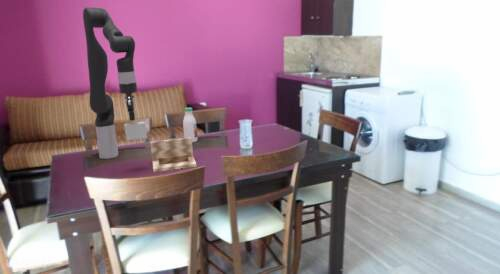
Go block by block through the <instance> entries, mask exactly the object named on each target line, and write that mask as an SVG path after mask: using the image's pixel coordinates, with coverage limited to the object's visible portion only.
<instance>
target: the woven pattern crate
mask: <svg viewBox="0 0 500 274" xmlns="http://www.w3.org/2000/svg"><path fill="white" fill-rule="evenodd" d="M149 143H150V151H151V153H150V154H151V159H152V169H153V170H152V171H153V173H159V172H165V171H167V172H168V171H173V170H174V169H175V170H182V169H181V168H183V169H191V168H196V167H197V162H196V160H195V157H194V153H193V152H194V150H193V149H194V148H193V143H192V138H191V137H190V138H184V137H183V138H174V139H173V138H172V139H164V140H157V141H156V140H154V141H150V142H149Z"/></svg>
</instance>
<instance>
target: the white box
mask: <svg viewBox="0 0 500 274" xmlns="http://www.w3.org/2000/svg"><path fill="white" fill-rule="evenodd" d="M134 117H135V120H132V121H130V122H125V123H124V125H123V127H124V132H125V137H126V139H125V140H126V141H134V140H141V139H142V140H143V139H147V138H148V135H147V127H146V122H145V120H142V121H139V120H138V113H137V109H134Z"/></svg>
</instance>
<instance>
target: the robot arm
mask: <svg viewBox="0 0 500 274" xmlns="http://www.w3.org/2000/svg"><path fill="white" fill-rule="evenodd" d="M82 20H83V27H84V28H83V29H84V33H85V34H84V35H85V40H86V56H87V57H86V58H87V69H88V78H89V79H88V80H89V107H90V109H91V111H92V112H93V113H95V114H96V117H95V121H94V125H95V131H96V138H97V141H96V143H97V148H98V149H97V150H98V155H99V156H98V157H99V159H103V160H107V159H108V160H109V159H114V158H117V157H118V156H119V150H118V149H119V148H118V141H117V135H116V133H117V132H116V128H115V109H114V101H113V99H112V97H111V96H110V95H109V94H107V93H106V81H107V75H108V72H109V71H108V69H109V68H108V67H109V65H108V64H109V63H108V55H107V53H106V50H105V49H104V48H103V47H102V45H101V44H100V42H99V41H98V39H97V37H96V34H95V30H94V28H96V29H102V34H103V37H104V38H105V39H106V40H107V41H108V43H109V48H110V50H111V51H112V52H113V53H116V54H121V53H125V55H124V56H123V57H120V58H118V59H116V67H117V68H116V69H117V81H118V86H119V93H120V94H123V95H124V94H125V96H124V101H125V105H126V109H127V112H128V115H129V116H128V117H129V121H130V122H131V121H132V120H135V117H134V110H135V106H136V104H135V96H134V95H133V94H135V93H137V92H138V86H137V79H136V73H135V67H134V66H135V65H134V58H135V57H134V56H135V50H136V41H135V39H134V38H133V37H132V36H131V35H124V34H123V32H122V31H121V30H120V29H119V28H118V27H117V26H116V25H115V23H114V21H113V19H112V17H111V16H110V13H108V11H107V9H105V8H102V7H84V8H83V11H82Z"/></svg>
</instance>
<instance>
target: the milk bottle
mask: <svg viewBox="0 0 500 274" xmlns="http://www.w3.org/2000/svg"><path fill="white" fill-rule="evenodd" d="M182 127H183V138H190V137H191V138H192V144H193V143H196V142H198V140H199V139H198V128H197V121H196V118H195V116H194V114H193V107H190V106H189V107H185V108H184V117H183V121H182Z"/></svg>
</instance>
